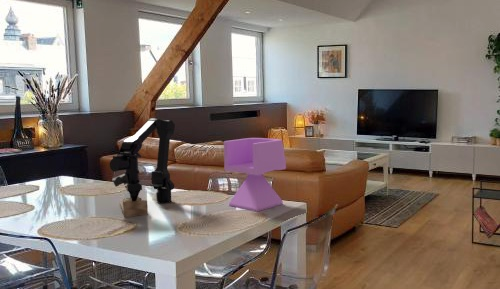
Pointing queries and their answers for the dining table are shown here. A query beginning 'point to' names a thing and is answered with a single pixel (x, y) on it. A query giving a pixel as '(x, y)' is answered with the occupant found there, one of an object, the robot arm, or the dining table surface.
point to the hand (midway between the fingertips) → (133, 202)
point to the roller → (131, 200)
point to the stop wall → (135, 208)
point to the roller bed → (122, 205)
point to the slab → (127, 196)
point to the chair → (254, 170)
